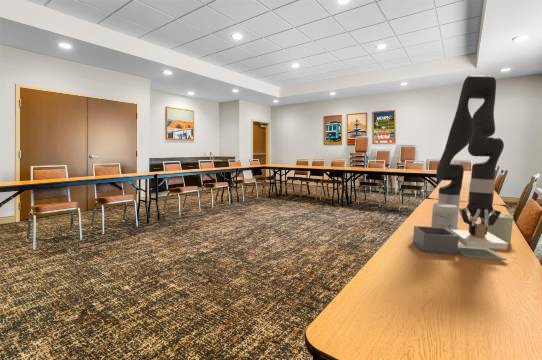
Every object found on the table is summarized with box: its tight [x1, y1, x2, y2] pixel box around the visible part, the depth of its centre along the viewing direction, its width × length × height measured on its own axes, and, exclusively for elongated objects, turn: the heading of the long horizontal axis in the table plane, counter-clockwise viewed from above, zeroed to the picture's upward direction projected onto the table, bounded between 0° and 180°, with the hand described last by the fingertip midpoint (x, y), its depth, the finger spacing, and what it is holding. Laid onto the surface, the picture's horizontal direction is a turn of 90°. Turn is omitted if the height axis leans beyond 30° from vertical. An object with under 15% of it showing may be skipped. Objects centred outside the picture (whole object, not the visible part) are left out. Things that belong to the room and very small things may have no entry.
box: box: [412, 225, 459, 255], centre depth 113 cm, size 12×12×7 cm
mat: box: [457, 243, 507, 261], centre depth 109 cm, size 14×13×1 cm
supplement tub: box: [430, 202, 457, 231], centre depth 128 cm, size 10×10×15 cm
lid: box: [451, 221, 509, 250], centre depth 108 cm, size 13×13×7 cm
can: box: [487, 213, 514, 245], centre depth 122 cm, size 9×9×12 cm
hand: (477, 235), depth 109 cm, fingers closed on lid, 3 cm apart
